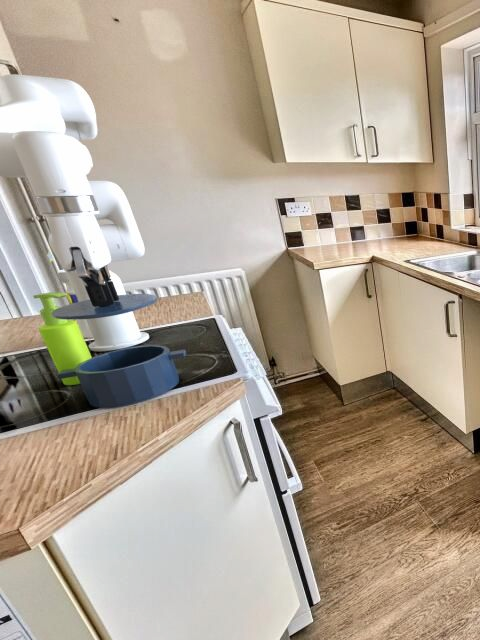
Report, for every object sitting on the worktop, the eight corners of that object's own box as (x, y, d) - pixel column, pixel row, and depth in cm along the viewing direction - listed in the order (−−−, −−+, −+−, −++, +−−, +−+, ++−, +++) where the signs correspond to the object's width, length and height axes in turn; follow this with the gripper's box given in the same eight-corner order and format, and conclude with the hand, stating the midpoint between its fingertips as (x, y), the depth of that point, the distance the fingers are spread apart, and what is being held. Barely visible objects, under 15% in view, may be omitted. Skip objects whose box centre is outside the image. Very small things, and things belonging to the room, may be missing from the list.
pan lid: (71, 306, 87) (59, 279, 85) (164, 295, 94) (156, 270, 92) (38, 328, 74) (24, 297, 72) (149, 313, 81) (139, 284, 79)
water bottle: (82, 340, 120) (44, 252, 111) (79, 334, 126) (43, 249, 116) (120, 333, 126) (87, 248, 117) (116, 327, 131) (84, 246, 122)
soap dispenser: (86, 384, 92) (47, 296, 85) (55, 385, 93) (14, 297, 85) (110, 373, 98) (76, 289, 91) (81, 374, 98) (44, 290, 91)
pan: (85, 388, 91) (71, 356, 88) (197, 367, 100) (188, 338, 97) (59, 419, 79) (42, 383, 76) (189, 392, 88) (177, 359, 85)
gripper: (58, 205, 82) (94, 297, 89) (20, 210, 69) (66, 317, 75) (108, 203, 85) (140, 292, 92) (81, 208, 72) (120, 310, 79)
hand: (106, 302), depth 84 cm, fingers closed on pan lid, 2 cm apart
